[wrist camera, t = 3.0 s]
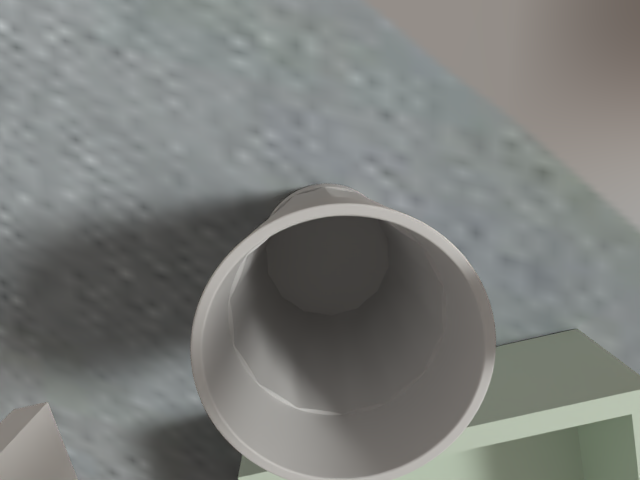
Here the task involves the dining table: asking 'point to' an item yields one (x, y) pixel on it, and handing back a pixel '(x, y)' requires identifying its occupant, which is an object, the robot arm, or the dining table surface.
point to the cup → (342, 340)
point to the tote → (542, 418)
